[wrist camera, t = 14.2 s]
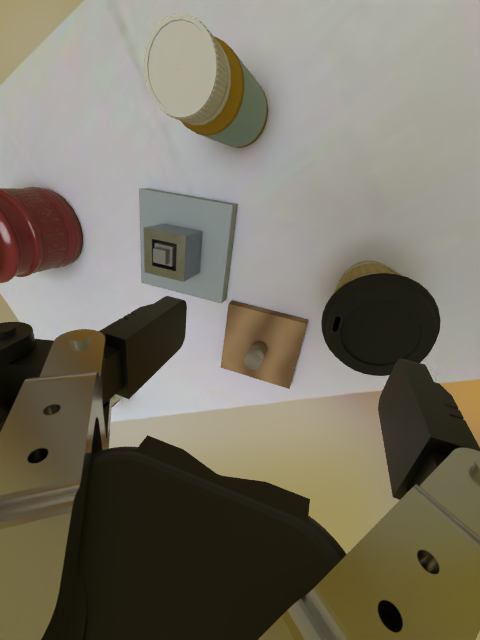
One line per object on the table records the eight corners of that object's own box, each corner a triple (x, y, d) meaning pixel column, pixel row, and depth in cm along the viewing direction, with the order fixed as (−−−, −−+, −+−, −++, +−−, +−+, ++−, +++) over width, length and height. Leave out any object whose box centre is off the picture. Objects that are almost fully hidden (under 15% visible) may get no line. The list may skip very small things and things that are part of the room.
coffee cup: (392, 326, 39) (418, 395, 26) (319, 309, 41) (309, 365, 28) (421, 254, 34) (470, 293, 21) (337, 240, 36) (336, 268, 24)
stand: (308, 319, 42) (303, 338, 37) (290, 383, 47) (284, 407, 42) (232, 300, 45) (217, 315, 39) (223, 362, 50) (210, 382, 45)
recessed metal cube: (202, 231, 40) (185, 236, 35) (199, 272, 42) (183, 282, 38) (164, 223, 41) (143, 227, 36) (164, 264, 44) (144, 272, 39)
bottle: (209, 87, 34) (128, 24, 21) (265, 69, 32) (213, -13, 19) (218, 153, 37) (151, 133, 24) (271, 141, 34) (229, 112, 21)
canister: (46, 169, 46) (-101, 160, 30) (97, 240, 48) (-16, 264, 33) (13, 216, 52) (-124, 227, 36) (60, 277, 54) (-51, 311, 39)
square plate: (237, 204, 39) (214, 207, 32) (226, 298, 45) (205, 318, 38) (147, 188, 42) (108, 188, 35) (148, 279, 48) (116, 294, 41)
